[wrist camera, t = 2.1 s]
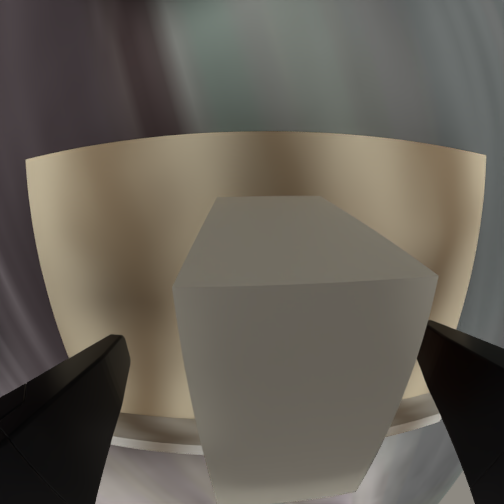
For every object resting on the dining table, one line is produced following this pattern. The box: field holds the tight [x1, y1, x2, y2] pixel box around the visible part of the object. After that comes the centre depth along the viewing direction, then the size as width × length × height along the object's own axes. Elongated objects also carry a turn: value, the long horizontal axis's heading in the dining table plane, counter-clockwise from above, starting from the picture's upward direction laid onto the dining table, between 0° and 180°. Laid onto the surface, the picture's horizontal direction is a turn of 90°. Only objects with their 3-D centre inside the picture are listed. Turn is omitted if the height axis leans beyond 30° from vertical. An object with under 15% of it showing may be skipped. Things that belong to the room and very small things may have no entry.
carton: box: [172, 196, 438, 504], centre depth 9 cm, size 4×7×8 cm, turn 1°
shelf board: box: [26, 131, 486, 455], centre depth 13 cm, size 22×16×3 cm
